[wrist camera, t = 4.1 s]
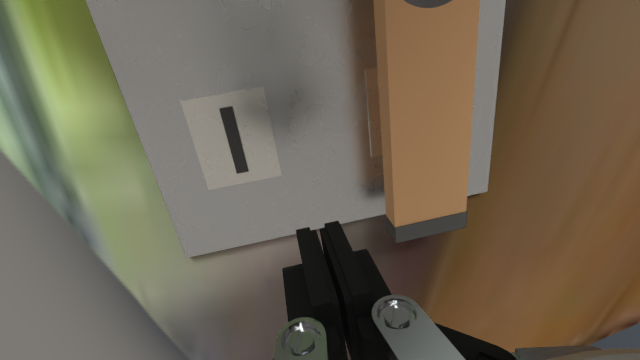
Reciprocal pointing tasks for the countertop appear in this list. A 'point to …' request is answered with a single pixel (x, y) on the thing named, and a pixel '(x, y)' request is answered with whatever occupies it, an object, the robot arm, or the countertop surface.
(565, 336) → the countertop surface
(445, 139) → the swing arm
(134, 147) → the countertop surface
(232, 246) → the board
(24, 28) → the countertop surface
